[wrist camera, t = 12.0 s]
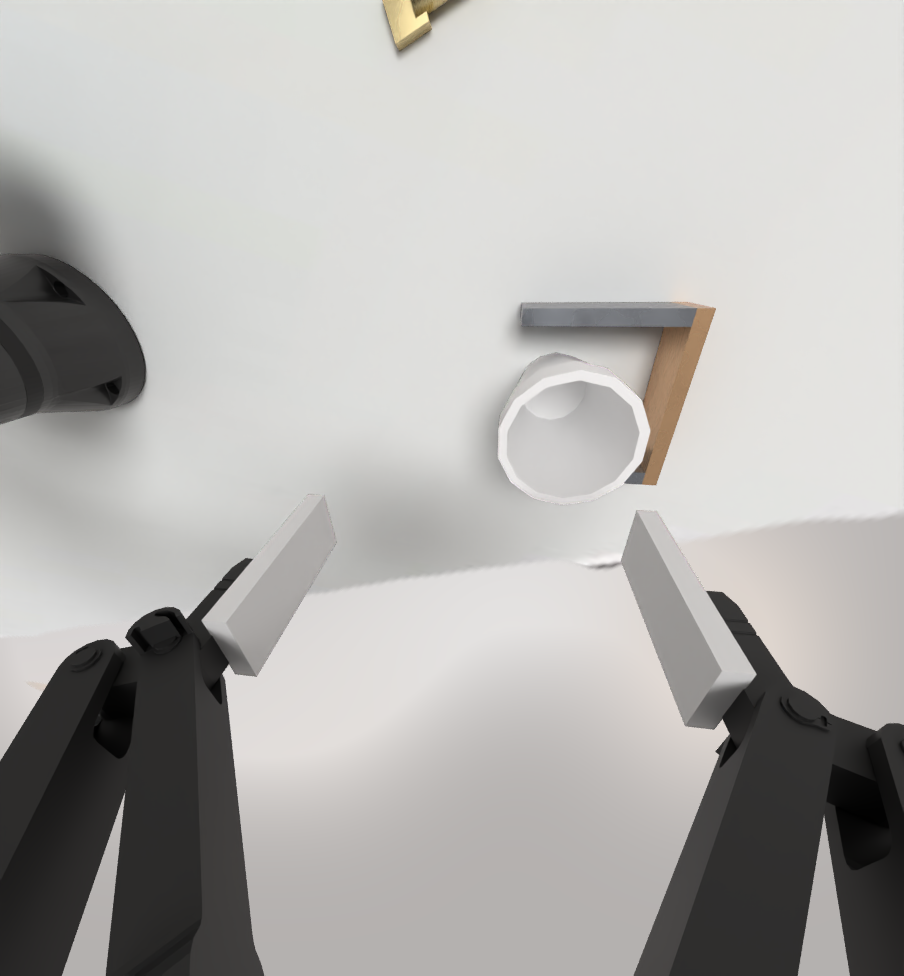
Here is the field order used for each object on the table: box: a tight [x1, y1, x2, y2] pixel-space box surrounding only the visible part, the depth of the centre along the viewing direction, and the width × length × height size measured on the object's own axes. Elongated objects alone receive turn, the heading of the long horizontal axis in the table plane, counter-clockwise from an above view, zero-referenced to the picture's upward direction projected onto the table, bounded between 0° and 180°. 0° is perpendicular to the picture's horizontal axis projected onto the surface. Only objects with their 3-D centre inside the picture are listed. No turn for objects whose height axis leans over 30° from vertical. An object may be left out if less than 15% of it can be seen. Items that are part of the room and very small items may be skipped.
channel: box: [521, 302, 716, 485], centre depth 31 cm, size 13×14×5 cm
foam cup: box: [498, 353, 650, 505], centre depth 28 cm, size 10×9×13 cm
